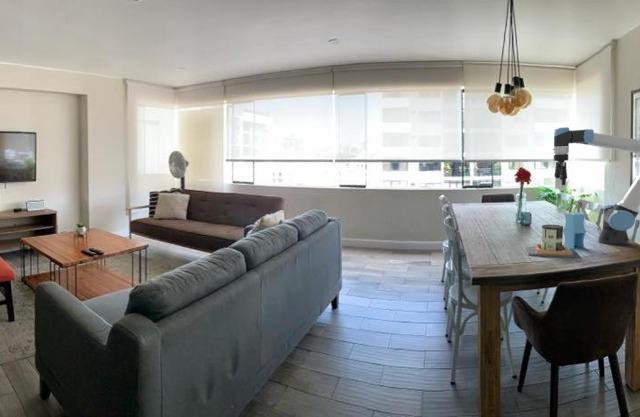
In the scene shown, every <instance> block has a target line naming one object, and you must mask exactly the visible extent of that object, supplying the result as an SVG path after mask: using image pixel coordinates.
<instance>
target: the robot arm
mask: <svg viewBox="0 0 640 417" xmlns="http://www.w3.org/2000/svg"><path fill="white" fill-rule="evenodd" d="M570 144H581V145H584V146H585V145H586V146H587V145H588V146H592V147H593V146H594V147H598V148H603V149H604V148H605V149H611V150H617V151H622V152H628V153H634V154H637V156H640V139H636V138H631V137H630V138H629V137H624V136H616V135H610V134H604V133H598V132H595V131H594V129H589V128H587V129H586V128H585V129H576V130H575V129H574V130H573V129H572V130H570V128H569V127H568V126H566V127H565V126H564V127H556V128H555V129H554V134H553V148H552V151H553V154H554V155H553V161H554V162H555V170H554V176H553V177H554V178H555V179H554V189H555V190H556V189H557V190H560V191H561V192H562V191H563V192H565V191H567V179H568V173H567V162H566V161H569V152H570V150H569V149H570V147H569V146H570ZM639 207H640V171H639V173H638V174H637V175H636V177H635V179H634V180H633V182H632V183H631V185H630V186H629V188H628V190H627V191H626V192H625V194H624V196H623V197H622V199H621V200H620V201H617V202H615V204H606V205H604V206H603V214H602V215H603V216H602V229H601V232H600V233H599V234H600V235H598V241H597V242H599V243H601V244H606V245H611V246H612V245H614V246H627V245H630V237H629V234H628V232H627V231H628V230H630V229H631V228H633V227H634V225H635V223H636V218H637V216H638V215H639V213H640V211H639Z"/></svg>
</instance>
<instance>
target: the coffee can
mask: <svg viewBox="0 0 640 417" xmlns="http://www.w3.org/2000/svg"><path fill="white" fill-rule="evenodd" d="M563 229H564V226H563V225H561V224H560V225H558V224H543V225H541V244H542V246H541V250H559V251H562V245H563V239H564V238H563V236H564V233H563Z"/></svg>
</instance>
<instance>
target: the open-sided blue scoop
mask: <svg viewBox="0 0 640 417" xmlns="http://www.w3.org/2000/svg"><path fill="white" fill-rule="evenodd" d="M563 214H564V217H565V224H564V226H563V236H564V244H563V245H566V246H567V247H568V249H574V250H575V247H577V248H582V249H585V248H586V247H585V243H584V240H585V236H586V233H587V231H586V227H585V225H584V220H585V215H586V213H583V212H577V211H574V212H573V213H569V212H568V213H567V212H564V213H563Z"/></svg>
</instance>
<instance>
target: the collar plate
mask: <svg viewBox="0 0 640 417" xmlns="http://www.w3.org/2000/svg"><path fill="white" fill-rule="evenodd" d="M541 246H542V243H533V246H525V250H526V252H527V255H528V256H531V257H548V258H564V259H565V258H568V259H581V255H580V254H579V253H578V252H577V251H576V250H575V248H574V249H571V248H568V247H567V246H566V245H564V244H562V251H559V250H541Z"/></svg>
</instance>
